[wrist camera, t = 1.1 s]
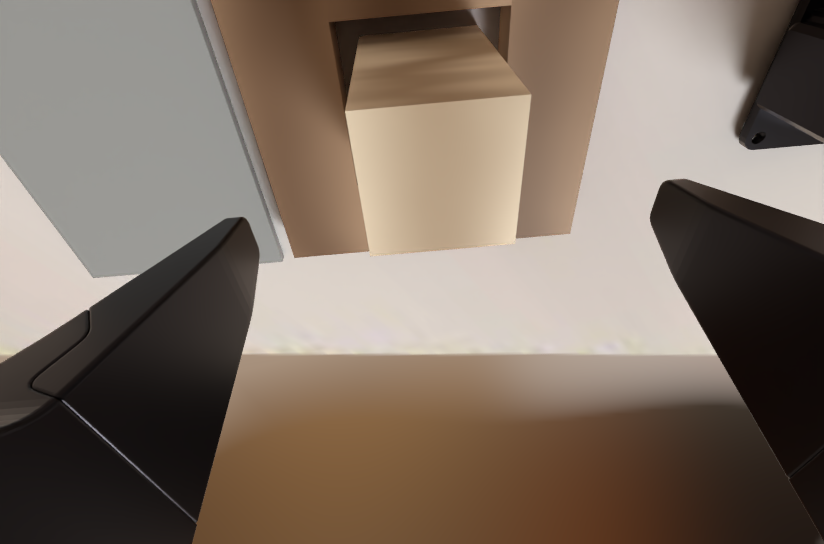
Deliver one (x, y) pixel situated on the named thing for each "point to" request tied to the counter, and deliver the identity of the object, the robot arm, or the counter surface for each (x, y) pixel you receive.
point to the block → (436, 140)
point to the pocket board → (326, 101)
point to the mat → (124, 129)
